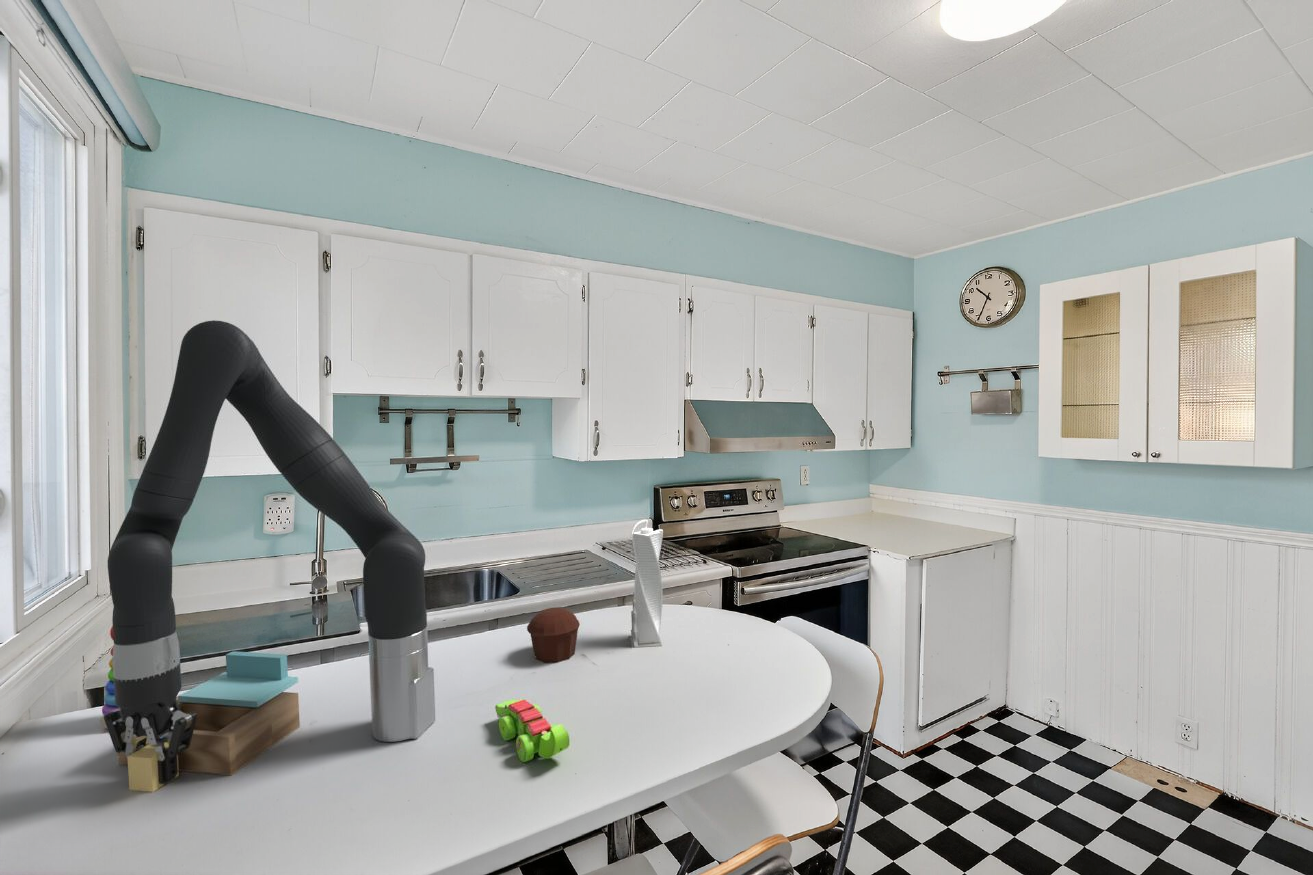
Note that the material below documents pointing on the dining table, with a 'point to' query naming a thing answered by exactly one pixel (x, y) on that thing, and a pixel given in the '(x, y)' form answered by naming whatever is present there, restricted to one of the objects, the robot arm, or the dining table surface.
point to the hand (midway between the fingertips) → (154, 778)
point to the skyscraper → (646, 588)
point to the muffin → (553, 635)
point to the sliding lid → (244, 681)
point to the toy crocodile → (530, 730)
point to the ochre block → (145, 769)
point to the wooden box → (233, 733)
